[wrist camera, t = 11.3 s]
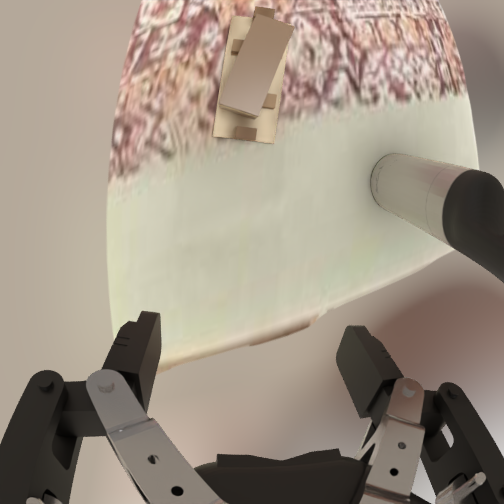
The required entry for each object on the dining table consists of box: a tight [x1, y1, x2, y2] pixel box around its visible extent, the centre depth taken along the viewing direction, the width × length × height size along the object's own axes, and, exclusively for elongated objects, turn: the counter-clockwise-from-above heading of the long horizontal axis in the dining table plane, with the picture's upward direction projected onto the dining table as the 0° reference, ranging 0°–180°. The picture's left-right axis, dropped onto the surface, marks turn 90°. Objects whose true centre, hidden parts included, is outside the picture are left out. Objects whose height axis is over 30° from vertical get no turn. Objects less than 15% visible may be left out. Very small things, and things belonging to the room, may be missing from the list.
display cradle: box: [213, 6, 291, 144], centre depth 31 cm, size 8×18×5 cm, turn 172°
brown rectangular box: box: [218, 14, 295, 120], centre depth 29 cm, size 5×12×5 cm, turn 160°
